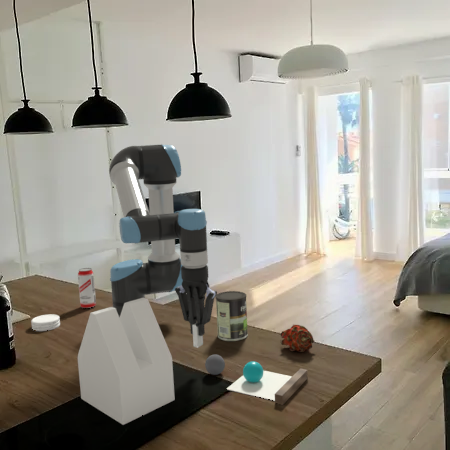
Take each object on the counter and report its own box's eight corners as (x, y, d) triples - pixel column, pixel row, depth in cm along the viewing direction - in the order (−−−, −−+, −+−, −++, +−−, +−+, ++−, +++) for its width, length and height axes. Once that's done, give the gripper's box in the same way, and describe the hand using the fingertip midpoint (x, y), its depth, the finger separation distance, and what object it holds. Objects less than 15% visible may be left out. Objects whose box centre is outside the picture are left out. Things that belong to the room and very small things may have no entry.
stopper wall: (300, 377, 137) (300, 368, 137) (307, 378, 136) (307, 369, 135) (275, 403, 123) (274, 393, 123) (282, 405, 122) (282, 395, 122)
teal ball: (256, 354, 137) (270, 369, 135) (245, 366, 139) (259, 381, 138) (246, 361, 132) (261, 377, 131) (235, 374, 135) (250, 390, 133)
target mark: (251, 368, 144) (251, 367, 144) (297, 378, 136) (297, 377, 136) (226, 389, 132) (226, 388, 132) (274, 401, 125) (274, 400, 124)
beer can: (94, 309, 206) (90, 270, 203) (78, 309, 206) (75, 271, 204) (98, 304, 212) (94, 267, 210) (83, 305, 212) (79, 267, 210)
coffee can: (250, 330, 174) (248, 290, 172) (245, 341, 164) (243, 299, 162) (220, 329, 176) (219, 290, 174) (214, 340, 166) (212, 299, 164)
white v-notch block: (174, 400, 128) (168, 305, 124) (123, 425, 117) (114, 321, 113) (131, 378, 141) (124, 291, 137) (81, 399, 130) (72, 305, 127)
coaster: (54, 331, 182) (53, 322, 182) (27, 332, 182) (26, 323, 182) (64, 322, 192) (63, 313, 192) (38, 323, 192) (37, 314, 192)
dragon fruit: (312, 361, 150) (283, 356, 159) (324, 338, 155) (295, 334, 164) (298, 343, 147) (269, 339, 156) (311, 320, 151) (281, 317, 160)
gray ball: (225, 350, 141) (230, 369, 142) (210, 351, 145) (215, 370, 145) (214, 358, 137) (219, 378, 137) (199, 359, 140) (204, 378, 140)
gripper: (167, 265, 140) (172, 346, 144) (206, 270, 133) (210, 354, 137) (183, 259, 146) (187, 336, 150) (221, 264, 140) (224, 344, 144)
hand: (198, 345), depth 144 cm, fingers closed
